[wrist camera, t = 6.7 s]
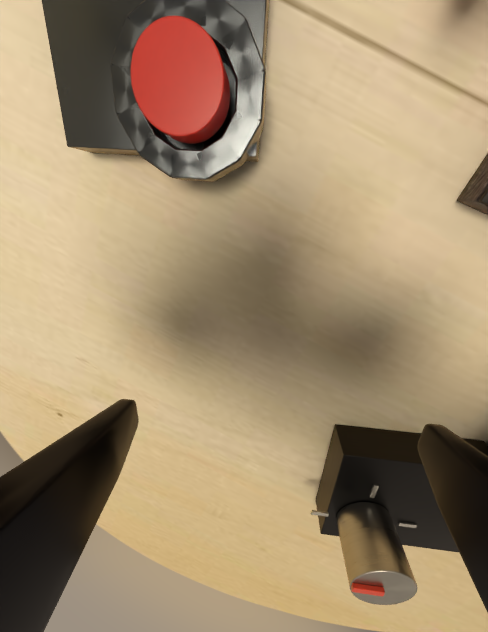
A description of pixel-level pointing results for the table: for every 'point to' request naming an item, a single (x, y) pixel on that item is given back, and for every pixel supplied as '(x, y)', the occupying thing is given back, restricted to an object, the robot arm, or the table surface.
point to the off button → (180, 80)
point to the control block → (116, 88)
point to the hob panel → (383, 484)
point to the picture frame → (477, 189)
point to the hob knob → (374, 555)
